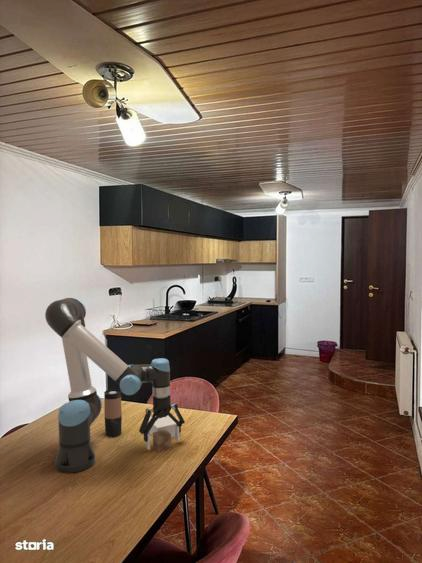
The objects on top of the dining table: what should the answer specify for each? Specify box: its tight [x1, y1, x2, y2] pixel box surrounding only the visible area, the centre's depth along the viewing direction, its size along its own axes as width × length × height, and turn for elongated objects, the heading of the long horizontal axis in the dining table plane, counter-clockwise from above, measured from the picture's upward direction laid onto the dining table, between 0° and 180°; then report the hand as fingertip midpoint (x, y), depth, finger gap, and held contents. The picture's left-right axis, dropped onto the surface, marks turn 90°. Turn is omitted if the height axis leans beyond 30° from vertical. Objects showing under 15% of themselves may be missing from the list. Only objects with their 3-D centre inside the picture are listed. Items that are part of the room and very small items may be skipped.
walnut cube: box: [152, 430, 173, 452], centre depth 172 cm, size 6×6×6 cm
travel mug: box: [103, 388, 123, 438], centre depth 185 cm, size 8×8×20 cm
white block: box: [148, 415, 181, 439], centre depth 186 cm, size 11×14×6 cm
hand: (163, 444), depth 172 cm, fingers open, 13 cm apart
